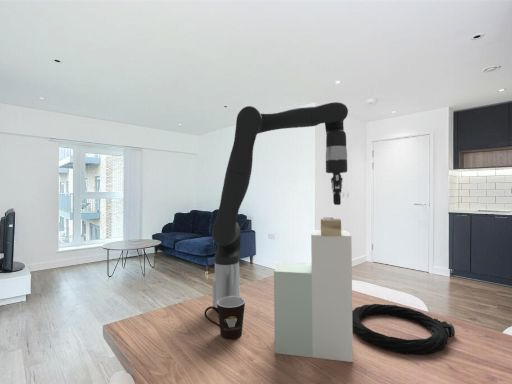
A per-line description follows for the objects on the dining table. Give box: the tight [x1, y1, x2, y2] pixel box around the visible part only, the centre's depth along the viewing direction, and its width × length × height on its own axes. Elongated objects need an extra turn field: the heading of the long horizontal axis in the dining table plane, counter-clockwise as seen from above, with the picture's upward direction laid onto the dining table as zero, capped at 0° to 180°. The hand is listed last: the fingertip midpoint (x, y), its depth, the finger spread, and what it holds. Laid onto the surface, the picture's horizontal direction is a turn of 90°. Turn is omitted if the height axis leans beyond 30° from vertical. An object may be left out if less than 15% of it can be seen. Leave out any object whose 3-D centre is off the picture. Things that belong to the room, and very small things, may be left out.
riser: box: [273, 229, 354, 363], centre depth 77 cm, size 10×20×32 cm, turn 77°
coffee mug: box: [204, 296, 246, 341], centre depth 85 cm, size 12×9×10 cm
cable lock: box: [352, 303, 456, 355], centre depth 86 cm, size 28×4×30 cm
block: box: [320, 217, 342, 236], centre depth 80 cm, size 19×5×4 cm, turn 167°
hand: (336, 204), depth 101 cm, fingers open, 8 cm apart
